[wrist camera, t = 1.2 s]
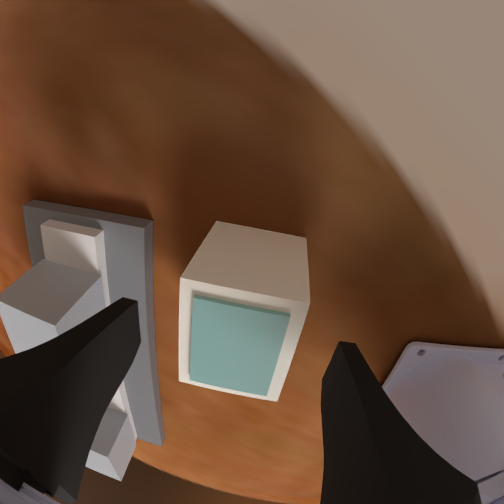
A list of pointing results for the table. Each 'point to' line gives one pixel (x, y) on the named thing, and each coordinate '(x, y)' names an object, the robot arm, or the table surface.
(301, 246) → the cream module
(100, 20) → the table surface
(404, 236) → the table surface
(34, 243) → the board
